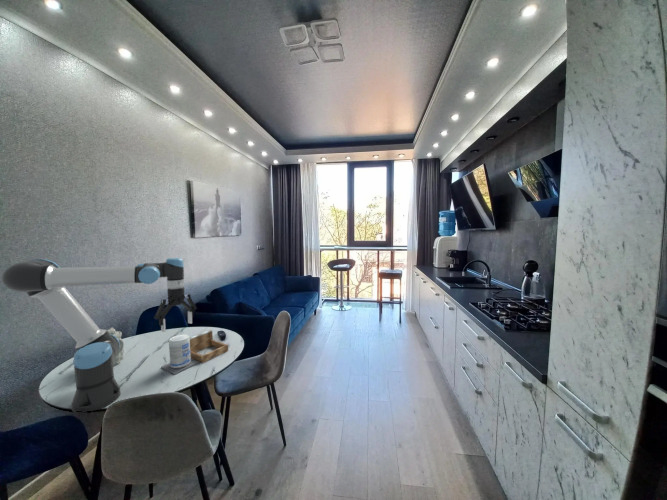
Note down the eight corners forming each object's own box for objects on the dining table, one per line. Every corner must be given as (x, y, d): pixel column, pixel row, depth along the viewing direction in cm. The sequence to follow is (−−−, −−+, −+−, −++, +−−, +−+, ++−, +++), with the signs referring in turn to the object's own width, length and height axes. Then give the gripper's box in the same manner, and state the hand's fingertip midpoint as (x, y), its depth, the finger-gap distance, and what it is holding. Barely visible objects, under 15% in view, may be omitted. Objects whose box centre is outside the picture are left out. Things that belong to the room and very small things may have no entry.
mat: (174, 374, 126) (174, 373, 126) (161, 367, 133) (161, 366, 133) (199, 363, 138) (199, 361, 138) (185, 357, 144) (185, 356, 144)
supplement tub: (187, 367, 132) (186, 340, 131) (167, 370, 130) (165, 342, 128) (193, 358, 141) (191, 333, 140) (174, 360, 139) (172, 335, 138)
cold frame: (202, 363, 138) (201, 346, 137) (185, 355, 146) (184, 339, 145) (228, 350, 152) (227, 335, 151) (211, 344, 160) (210, 329, 159)
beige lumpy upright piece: (104, 373, 128) (101, 338, 126) (81, 370, 131) (78, 335, 129) (136, 357, 144) (133, 325, 143) (114, 355, 147) (112, 324, 146)
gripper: (152, 293, 119) (154, 336, 121) (202, 284, 141) (203, 321, 142) (145, 291, 123) (147, 333, 124) (195, 282, 145) (196, 318, 146)
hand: (177, 327), depth 133 cm, fingers open, 13 cm apart
